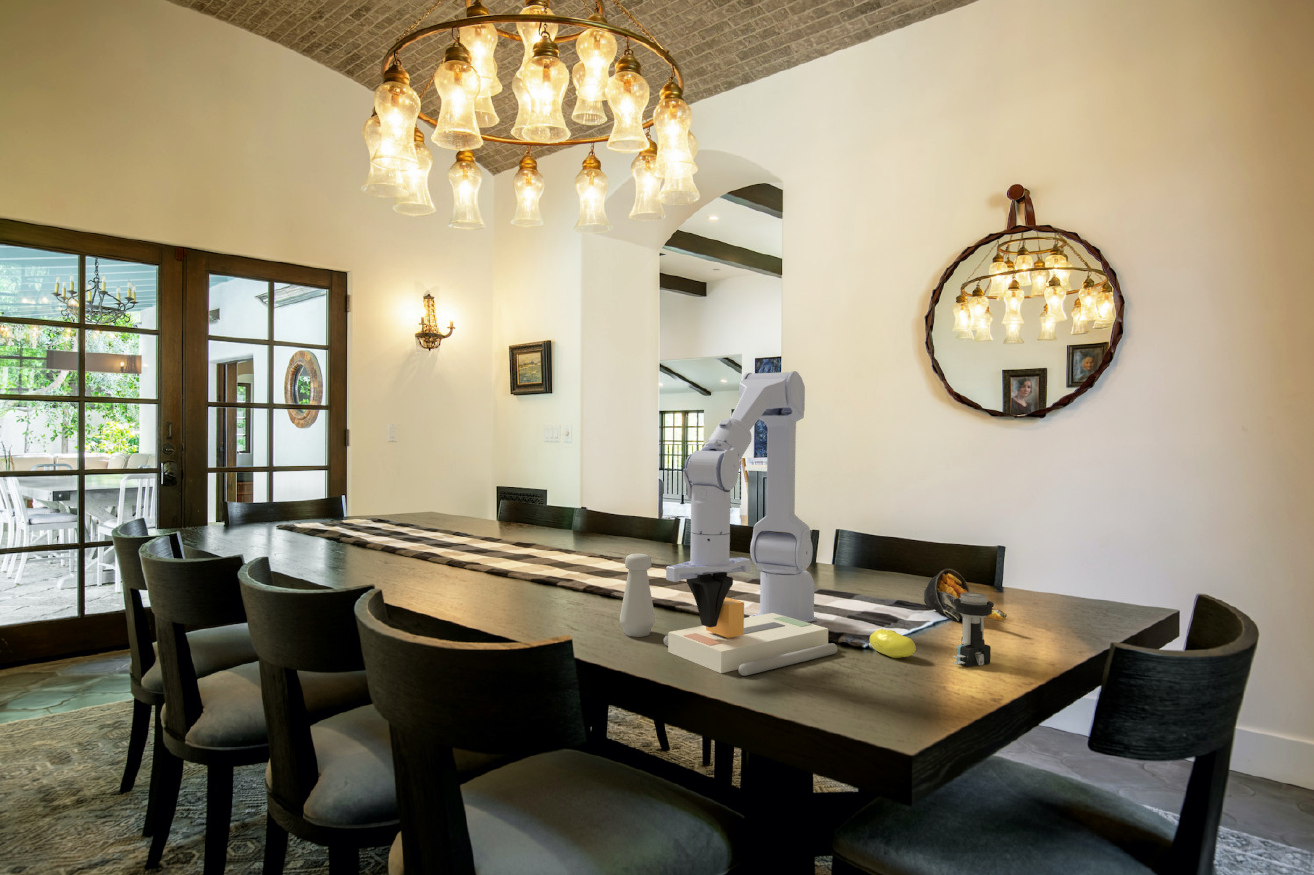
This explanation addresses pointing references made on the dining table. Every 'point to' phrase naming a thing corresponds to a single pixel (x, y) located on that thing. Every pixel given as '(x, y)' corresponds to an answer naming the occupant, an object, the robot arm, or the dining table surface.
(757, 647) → the breaker panel
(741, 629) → the block
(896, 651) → the lemon
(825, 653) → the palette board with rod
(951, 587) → the fried shrimp in bowl
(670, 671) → the dining table surface
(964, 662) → the push button
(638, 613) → the salt shaker
